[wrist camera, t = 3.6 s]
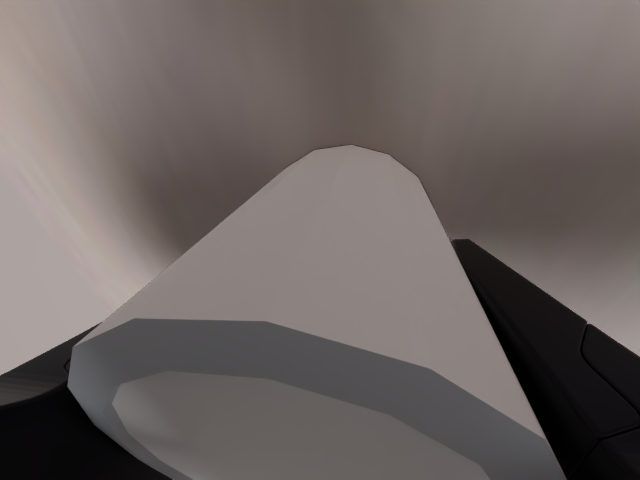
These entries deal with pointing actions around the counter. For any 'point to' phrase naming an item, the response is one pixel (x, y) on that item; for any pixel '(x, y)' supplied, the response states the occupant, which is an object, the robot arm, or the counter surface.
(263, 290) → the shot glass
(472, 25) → the counter surface
